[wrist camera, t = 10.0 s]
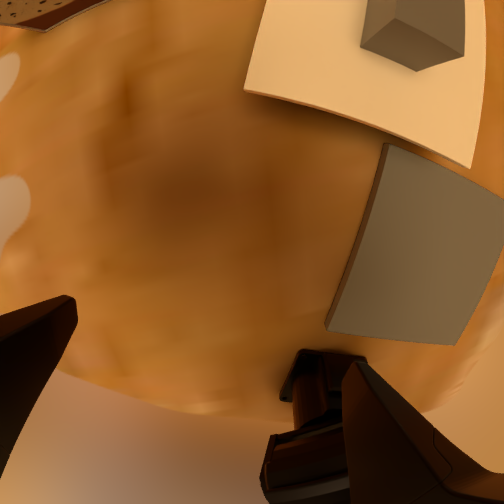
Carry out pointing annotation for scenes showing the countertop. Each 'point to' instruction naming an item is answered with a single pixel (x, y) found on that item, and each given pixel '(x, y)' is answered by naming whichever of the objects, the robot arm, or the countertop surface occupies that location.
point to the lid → (380, 65)
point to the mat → (419, 254)
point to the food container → (42, 12)
